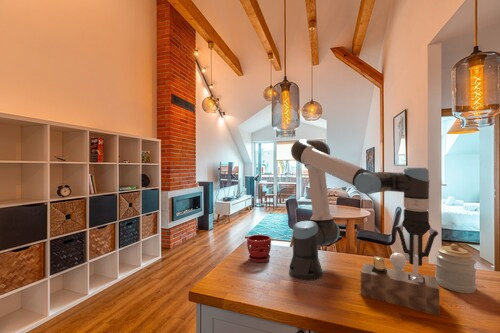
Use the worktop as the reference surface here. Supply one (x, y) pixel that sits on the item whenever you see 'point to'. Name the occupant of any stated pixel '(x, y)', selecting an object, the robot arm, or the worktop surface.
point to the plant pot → (259, 248)
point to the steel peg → (416, 278)
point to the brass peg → (379, 265)
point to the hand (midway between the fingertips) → (415, 273)
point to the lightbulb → (398, 261)
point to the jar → (455, 269)
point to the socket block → (401, 289)
